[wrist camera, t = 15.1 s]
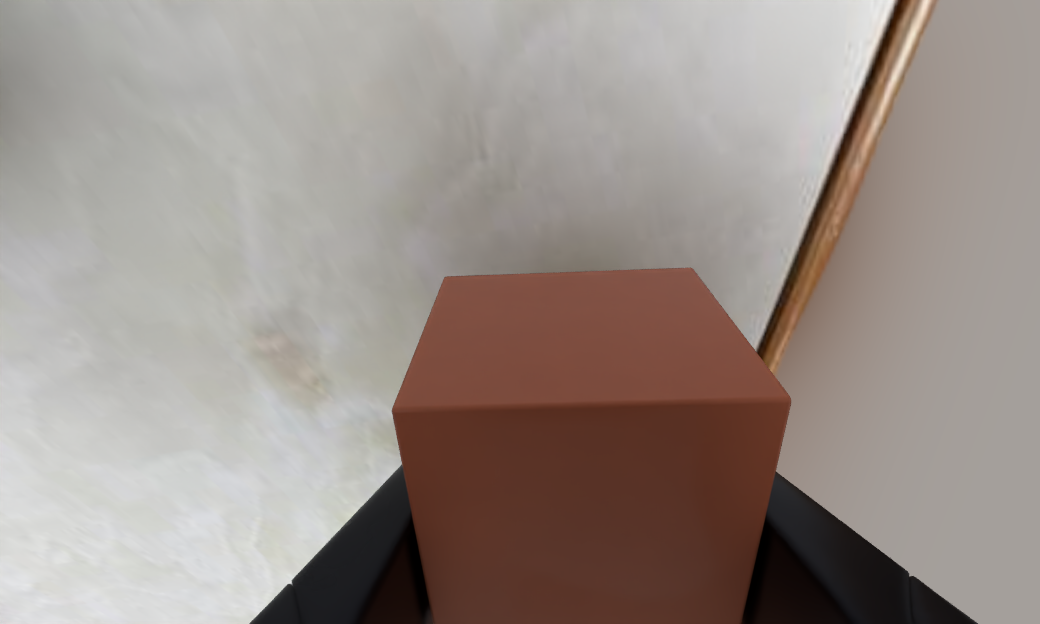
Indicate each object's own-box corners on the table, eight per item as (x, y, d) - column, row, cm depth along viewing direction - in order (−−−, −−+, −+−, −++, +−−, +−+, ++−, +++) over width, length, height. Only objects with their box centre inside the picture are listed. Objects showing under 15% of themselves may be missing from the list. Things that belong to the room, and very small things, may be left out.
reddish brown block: (666, 509, 12) (724, 704, 8) (472, 512, 12) (447, 705, 8) (692, 266, 9) (795, 398, 6) (443, 275, 9) (389, 409, 6)
